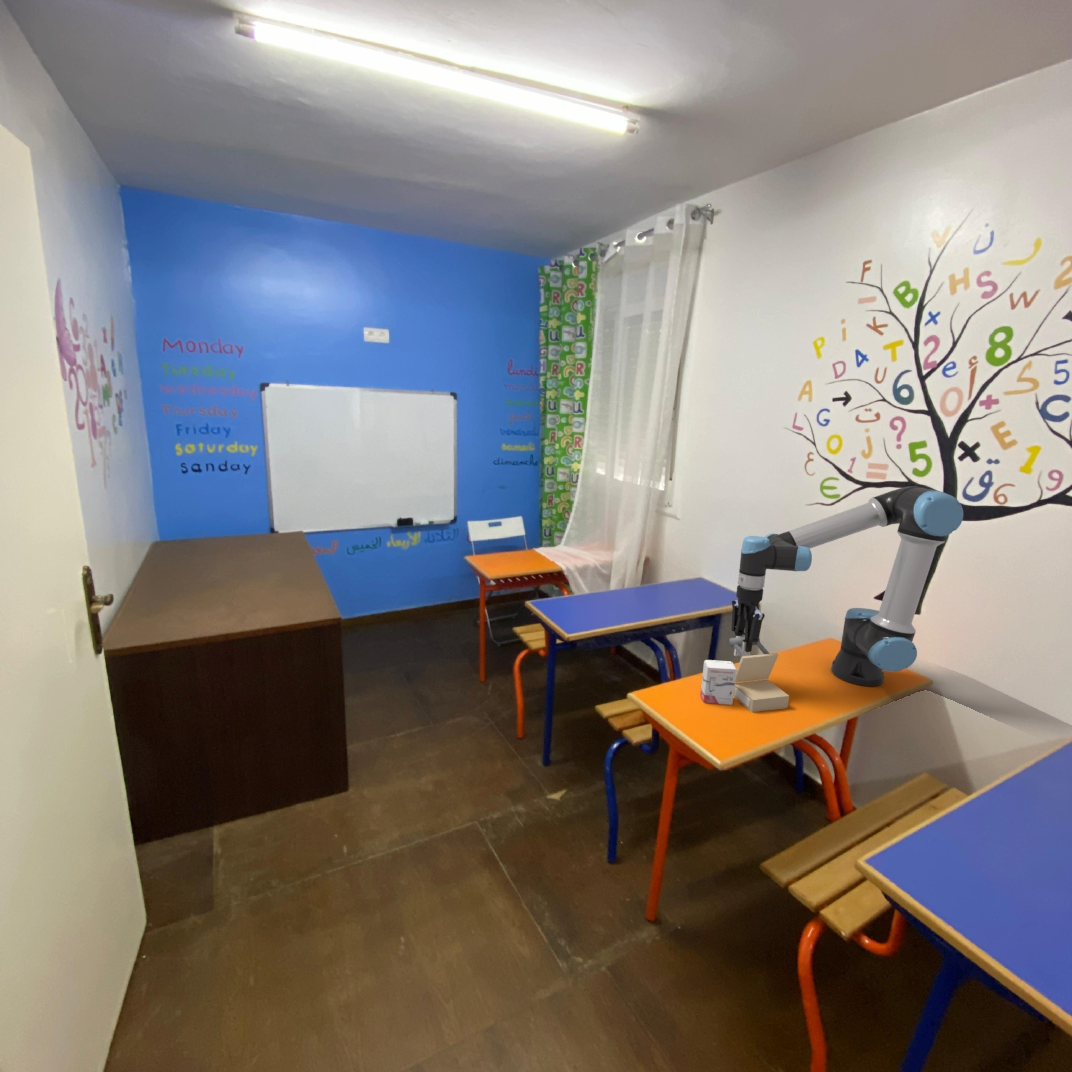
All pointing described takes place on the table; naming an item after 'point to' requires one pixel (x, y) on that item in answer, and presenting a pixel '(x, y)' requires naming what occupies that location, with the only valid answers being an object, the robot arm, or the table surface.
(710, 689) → the ink box
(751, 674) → the flap
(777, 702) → the carton
